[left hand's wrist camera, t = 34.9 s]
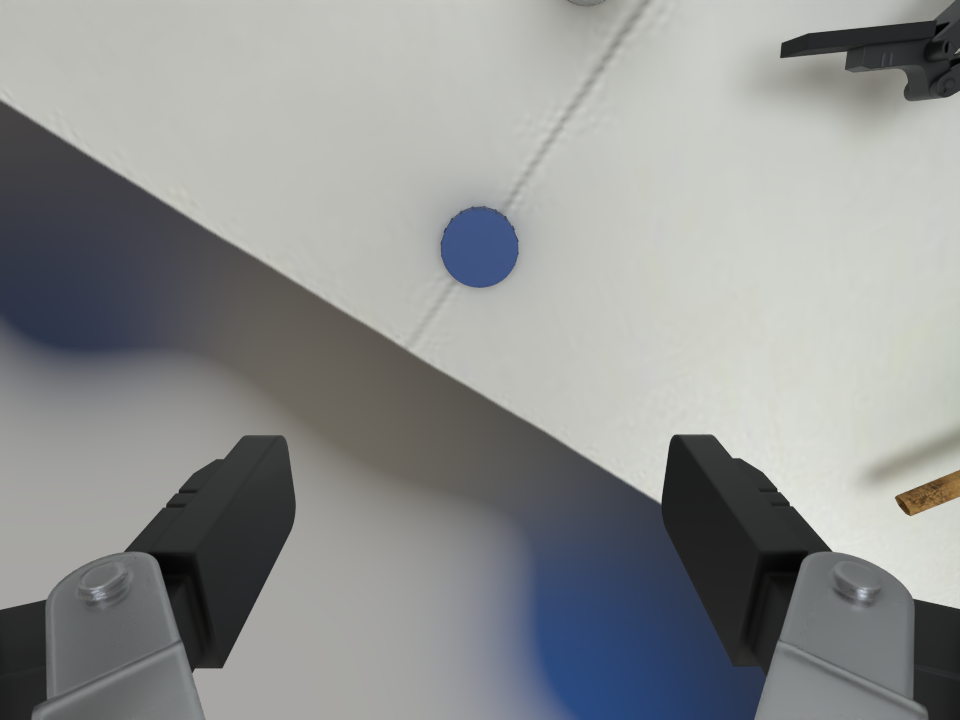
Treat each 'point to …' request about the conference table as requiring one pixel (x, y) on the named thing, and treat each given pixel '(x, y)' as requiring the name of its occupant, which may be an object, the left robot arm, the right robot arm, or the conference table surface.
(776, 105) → the conference table surface
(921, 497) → the decorative tree
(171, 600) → the left robot arm
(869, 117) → the conference table surface
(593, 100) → the conference table surface
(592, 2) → the jar
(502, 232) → the lid
